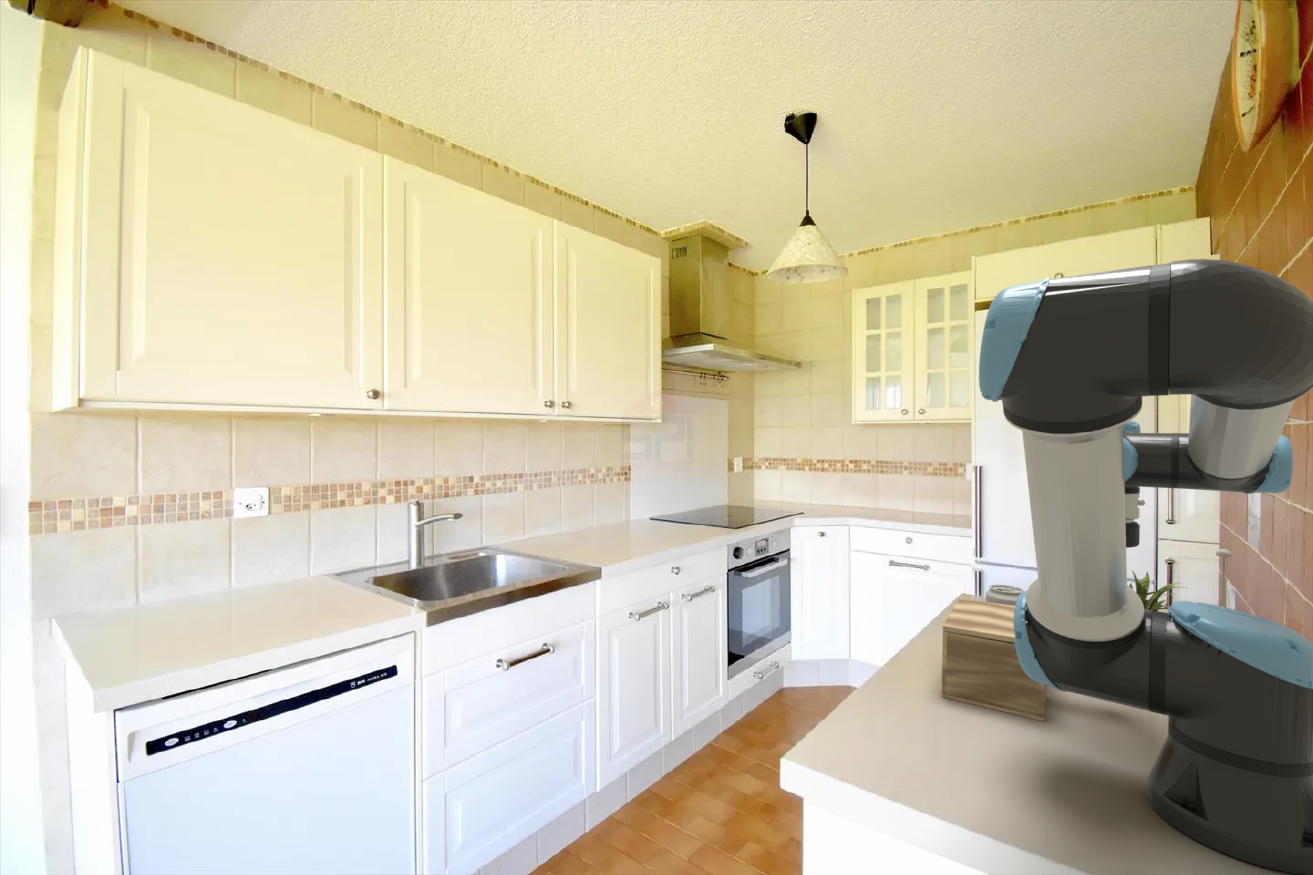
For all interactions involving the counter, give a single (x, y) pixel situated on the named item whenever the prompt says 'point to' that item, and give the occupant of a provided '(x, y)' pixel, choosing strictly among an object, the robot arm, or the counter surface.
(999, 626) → the wooden box lid
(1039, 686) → the wooden box
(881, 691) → the counter surface
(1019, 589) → the can
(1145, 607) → the house plant
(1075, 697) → the counter surface
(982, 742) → the counter surface
